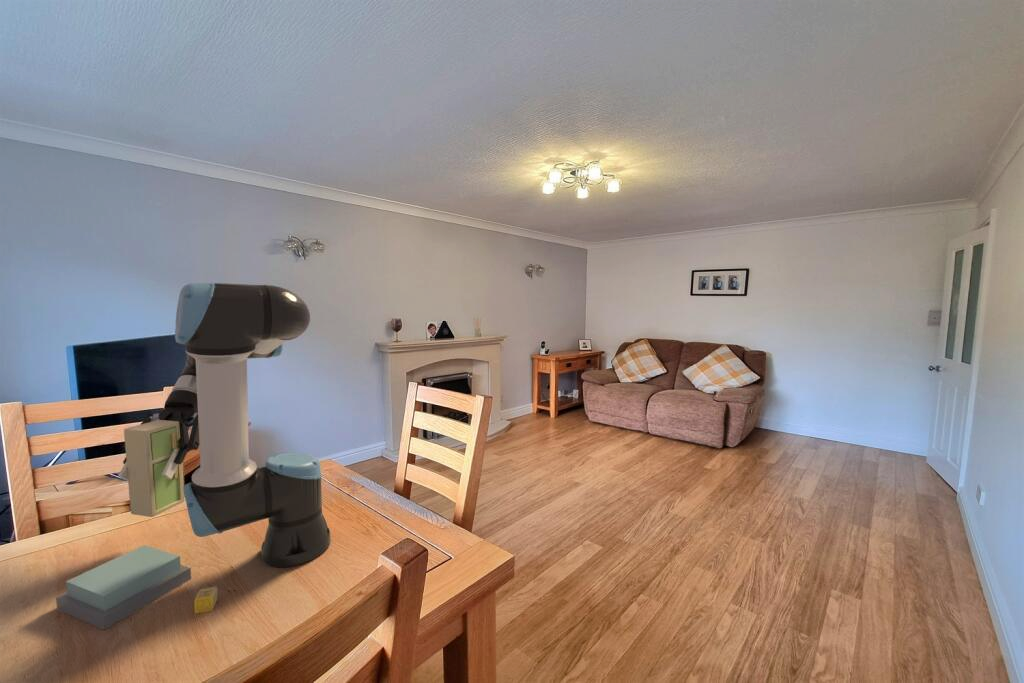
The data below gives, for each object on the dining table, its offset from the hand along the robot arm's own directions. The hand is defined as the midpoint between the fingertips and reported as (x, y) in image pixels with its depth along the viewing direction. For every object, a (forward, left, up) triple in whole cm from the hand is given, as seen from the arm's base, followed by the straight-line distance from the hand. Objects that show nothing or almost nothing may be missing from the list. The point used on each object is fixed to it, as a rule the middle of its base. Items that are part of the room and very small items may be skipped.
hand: (145, 477), depth 96 cm
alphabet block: (-30, +7, -19) cm, 36 cm away
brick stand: (-11, +10, -19) cm, 24 cm away
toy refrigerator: (+1, -3, -10) cm, 10 cm away
